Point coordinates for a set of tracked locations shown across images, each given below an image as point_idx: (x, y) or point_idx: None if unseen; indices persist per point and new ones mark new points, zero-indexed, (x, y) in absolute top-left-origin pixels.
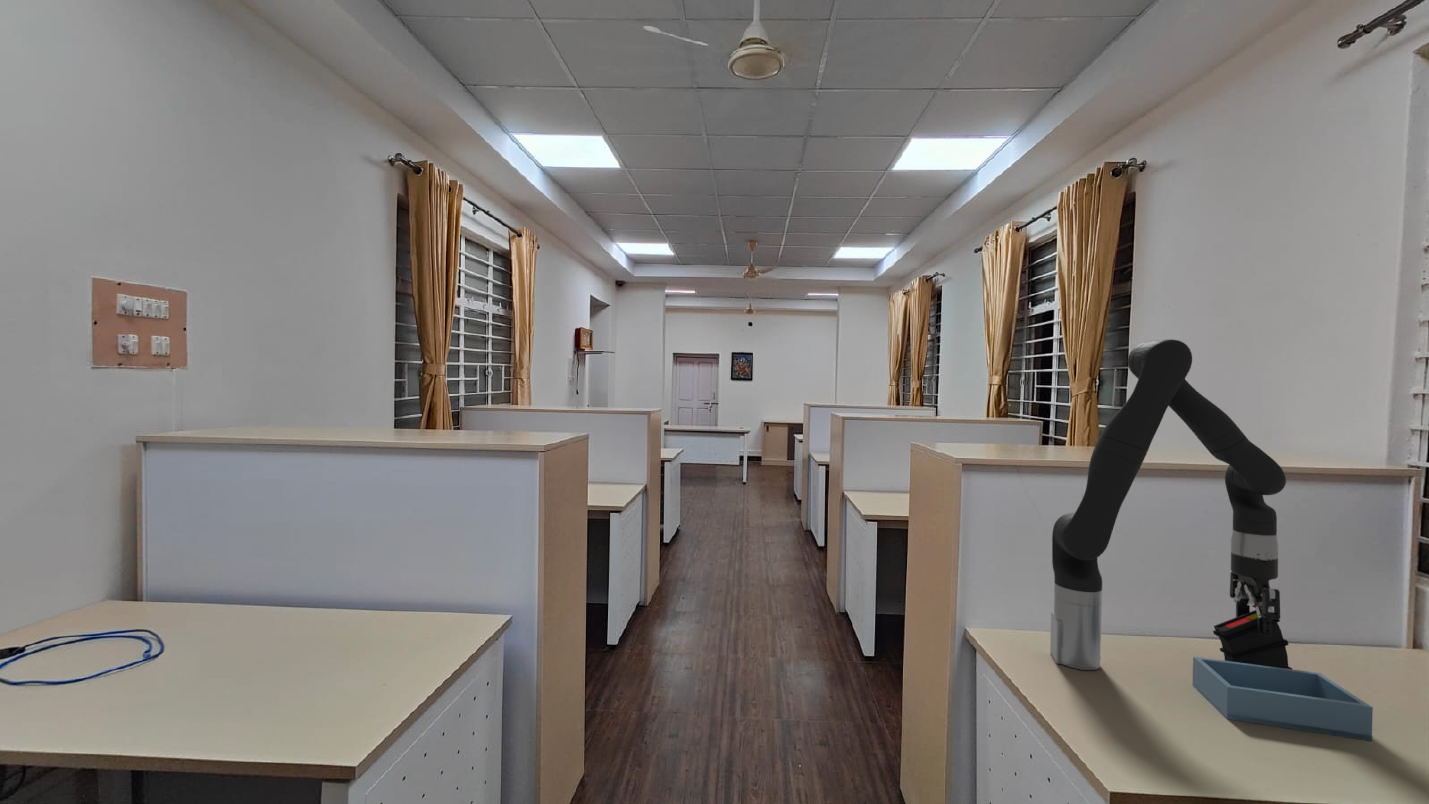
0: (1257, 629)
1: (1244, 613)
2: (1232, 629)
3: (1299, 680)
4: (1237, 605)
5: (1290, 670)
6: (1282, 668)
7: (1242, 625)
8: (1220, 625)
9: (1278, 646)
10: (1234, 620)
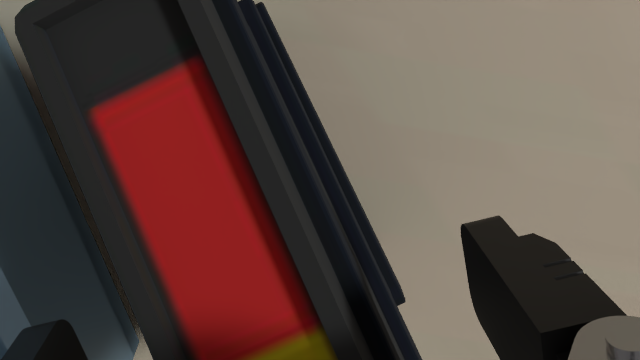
0: (39, 345)
1: (500, 328)
2: (55, 116)
3: None
4: (542, 324)
5: (11, 340)
6: (12, 308)
7: (104, 234)
8: (187, 16)
9: None
10: (263, 185)
